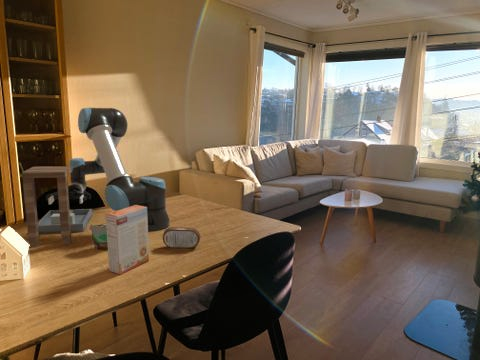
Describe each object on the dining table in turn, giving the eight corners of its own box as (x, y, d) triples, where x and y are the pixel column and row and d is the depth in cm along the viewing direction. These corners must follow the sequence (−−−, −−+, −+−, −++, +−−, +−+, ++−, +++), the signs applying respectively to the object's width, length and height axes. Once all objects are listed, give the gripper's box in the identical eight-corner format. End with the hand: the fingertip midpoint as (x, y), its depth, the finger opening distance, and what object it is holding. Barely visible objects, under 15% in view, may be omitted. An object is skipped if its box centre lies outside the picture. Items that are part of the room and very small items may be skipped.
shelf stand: (69, 245, 145) (64, 172, 138) (28, 247, 141) (21, 172, 135) (77, 233, 158) (72, 166, 152) (39, 235, 154) (33, 166, 148)
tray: (83, 231, 160) (83, 223, 160) (35, 233, 156) (34, 225, 155) (92, 215, 183) (91, 208, 182) (50, 217, 178) (49, 210, 178)
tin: (200, 246, 148) (200, 226, 146) (199, 249, 145) (199, 229, 143) (163, 245, 147) (163, 226, 145) (162, 248, 144) (161, 228, 142)
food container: (92, 253, 137) (90, 228, 135) (90, 247, 143) (89, 223, 141) (125, 248, 143) (124, 224, 141) (122, 243, 148) (121, 220, 146)
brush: (72, 226, 163) (72, 215, 162) (51, 227, 161) (50, 216, 160) (79, 215, 179) (79, 206, 178) (60, 216, 177) (59, 206, 176)
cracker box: (137, 257, 135) (136, 203, 131) (149, 261, 132) (148, 206, 128) (107, 271, 123) (104, 213, 119) (119, 275, 121) (117, 216, 116)
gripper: (100, 197, 193) (93, 208, 172) (49, 198, 187) (36, 210, 167) (99, 183, 191) (92, 192, 171) (48, 184, 185) (35, 194, 165)
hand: (65, 201), depth 169 cm, fingers open, 13 cm apart
